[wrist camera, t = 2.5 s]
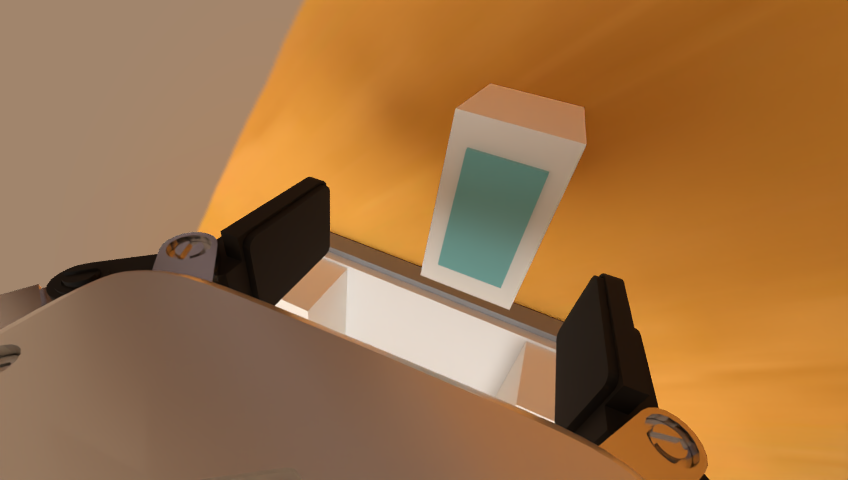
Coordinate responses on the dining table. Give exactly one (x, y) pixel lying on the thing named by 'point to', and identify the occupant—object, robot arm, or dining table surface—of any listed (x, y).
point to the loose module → (500, 189)
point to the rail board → (431, 324)
